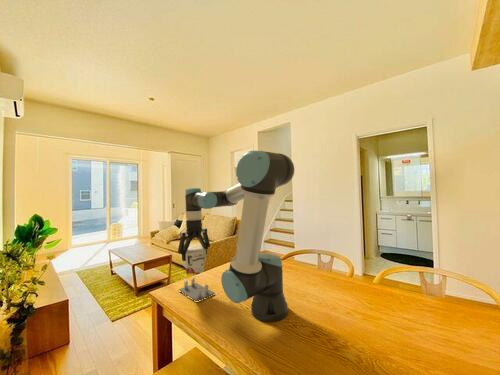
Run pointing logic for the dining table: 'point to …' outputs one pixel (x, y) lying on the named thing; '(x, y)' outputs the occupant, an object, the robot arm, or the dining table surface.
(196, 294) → the pin tray
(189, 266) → the ink box
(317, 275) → the dining table surface
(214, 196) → the robot arm
